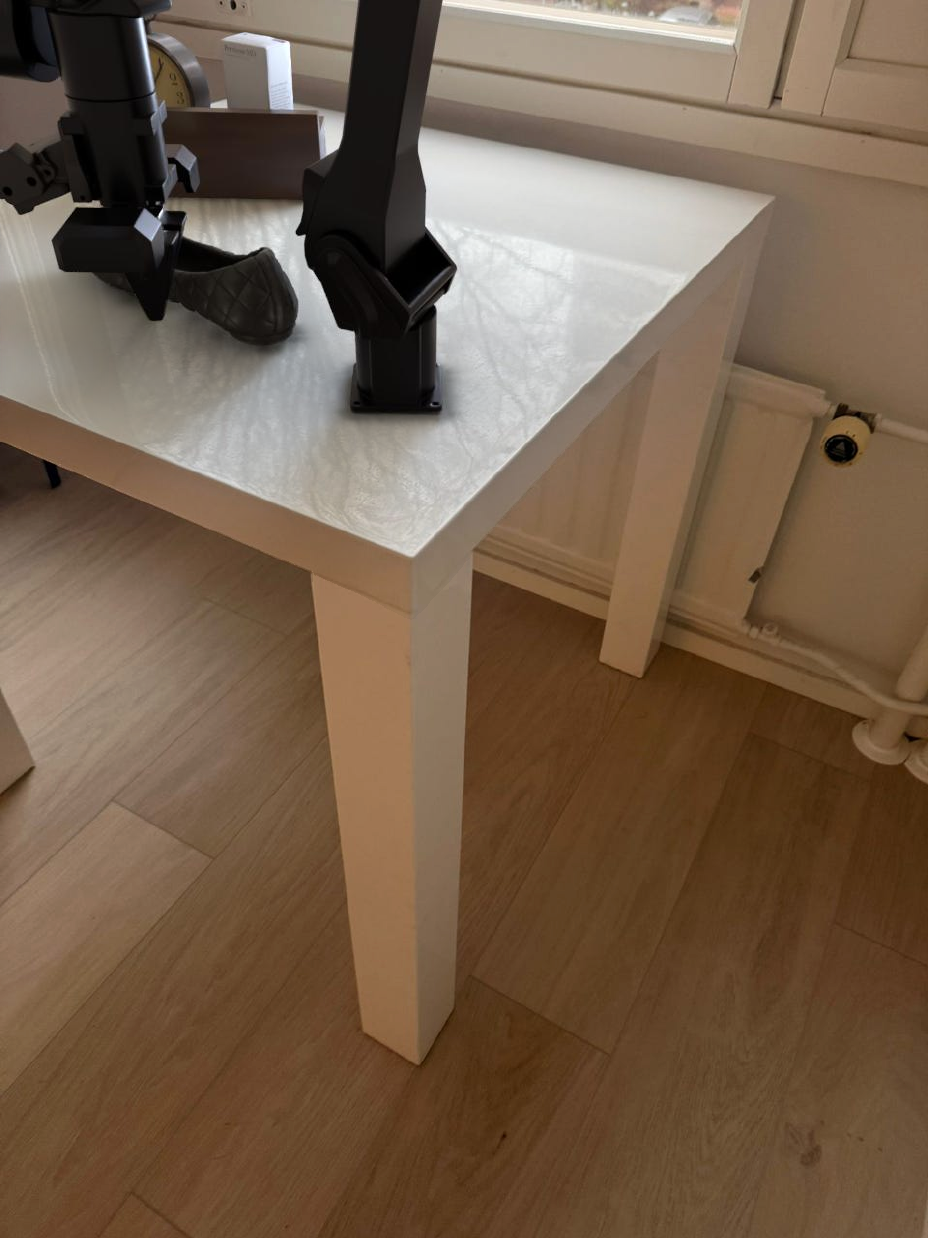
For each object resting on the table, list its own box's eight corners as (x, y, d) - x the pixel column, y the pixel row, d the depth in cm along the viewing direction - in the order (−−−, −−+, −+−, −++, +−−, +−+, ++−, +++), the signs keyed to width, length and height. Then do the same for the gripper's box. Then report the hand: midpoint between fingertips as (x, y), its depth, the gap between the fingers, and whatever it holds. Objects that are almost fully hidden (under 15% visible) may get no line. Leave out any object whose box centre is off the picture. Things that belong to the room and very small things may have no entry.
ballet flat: (131, 242, 85) (113, 157, 80) (337, 326, 74) (331, 233, 69) (49, 271, 80) (25, 181, 75) (258, 365, 69) (245, 268, 64)
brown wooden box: (323, 199, 95) (317, 114, 90) (127, 195, 94) (108, 109, 89) (327, 176, 100) (322, 94, 95) (141, 172, 99) (125, 89, 94)
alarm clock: (114, 157, 103) (76, -18, 91) (140, 143, 106) (107, -26, 95) (202, 170, 100) (175, -8, 89) (225, 155, 104) (202, -17, 93)
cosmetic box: (231, 164, 102) (215, 38, 94) (257, 154, 105) (243, 30, 97) (275, 175, 100) (262, 46, 92) (300, 164, 103) (290, 38, 95)
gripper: (26, 56, 66) (80, 270, 77) (-71, 128, 53) (11, 377, 63) (183, 59, 67) (215, 272, 78) (127, 132, 53) (175, 378, 64)
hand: (156, 319), depth 70 cm, fingers closed
